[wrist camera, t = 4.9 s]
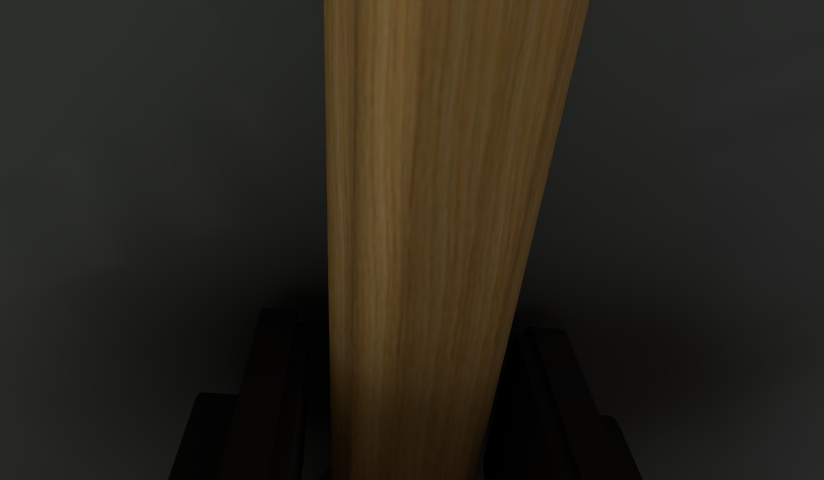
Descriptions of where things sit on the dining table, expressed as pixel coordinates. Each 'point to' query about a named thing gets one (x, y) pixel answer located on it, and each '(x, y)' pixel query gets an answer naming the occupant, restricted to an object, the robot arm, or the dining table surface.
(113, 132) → the dining table surface
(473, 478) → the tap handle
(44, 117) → the dining table surface
